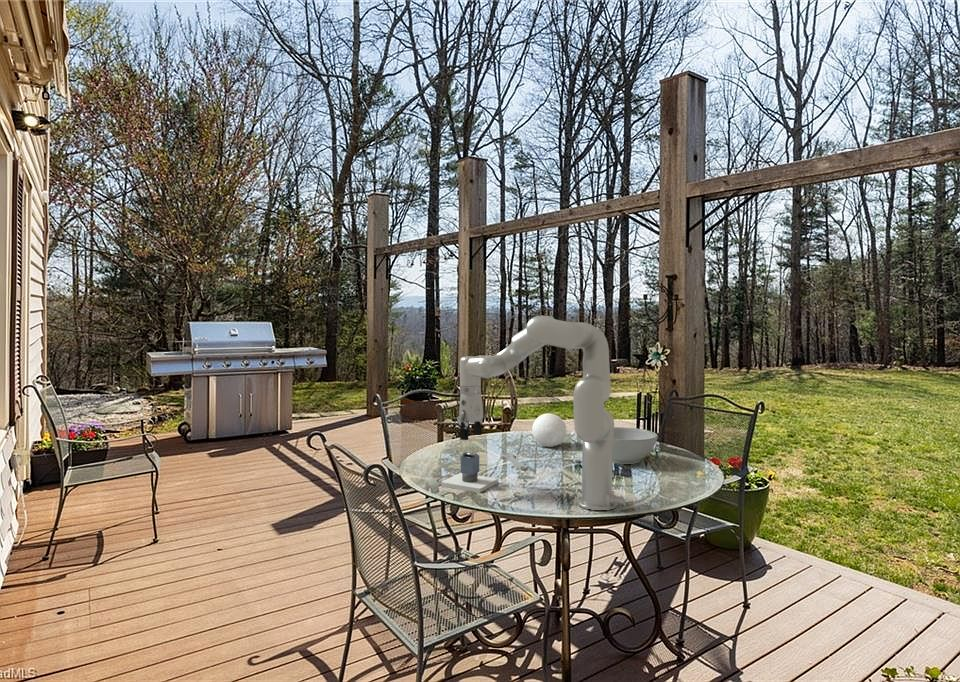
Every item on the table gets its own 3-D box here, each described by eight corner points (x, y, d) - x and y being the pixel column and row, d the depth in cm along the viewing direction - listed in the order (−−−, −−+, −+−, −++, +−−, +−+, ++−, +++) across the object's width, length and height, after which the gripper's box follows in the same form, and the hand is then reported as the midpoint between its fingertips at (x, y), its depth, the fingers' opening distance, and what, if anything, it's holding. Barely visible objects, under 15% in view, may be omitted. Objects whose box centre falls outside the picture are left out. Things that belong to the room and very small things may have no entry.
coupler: (479, 471, 200) (479, 452, 199) (472, 474, 195) (472, 455, 195) (467, 469, 202) (467, 451, 202) (460, 472, 197) (460, 454, 197)
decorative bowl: (580, 460, 234) (580, 432, 234) (616, 450, 252) (616, 424, 252) (634, 473, 214) (634, 442, 214) (669, 461, 232) (670, 433, 232)
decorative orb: (530, 450, 251) (531, 416, 251) (524, 442, 269) (524, 410, 268) (573, 450, 253) (573, 416, 252) (564, 441, 270) (564, 409, 270)
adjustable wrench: (527, 471, 218) (527, 467, 218) (511, 472, 217) (511, 468, 217) (512, 455, 243) (512, 451, 243) (498, 456, 242) (498, 452, 241)
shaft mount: (498, 482, 201) (498, 456, 201) (479, 492, 189) (479, 465, 188) (460, 476, 209) (460, 451, 208) (441, 486, 196) (441, 459, 196)
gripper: (467, 393, 188) (467, 442, 189) (490, 388, 203) (491, 433, 204) (449, 392, 192) (449, 440, 192) (473, 387, 207) (473, 432, 207)
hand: (470, 437), depth 198 cm, fingers open, 9 cm apart
